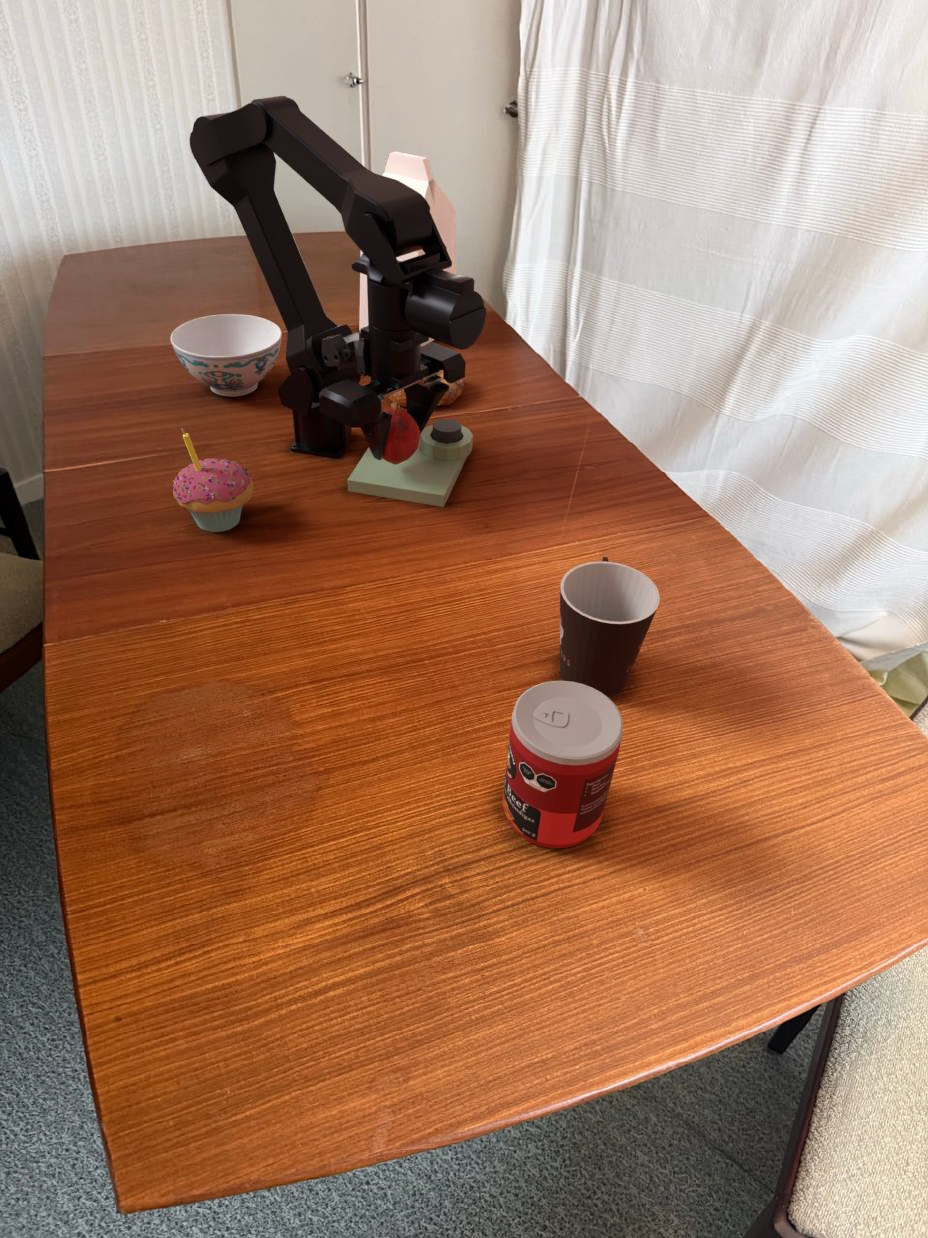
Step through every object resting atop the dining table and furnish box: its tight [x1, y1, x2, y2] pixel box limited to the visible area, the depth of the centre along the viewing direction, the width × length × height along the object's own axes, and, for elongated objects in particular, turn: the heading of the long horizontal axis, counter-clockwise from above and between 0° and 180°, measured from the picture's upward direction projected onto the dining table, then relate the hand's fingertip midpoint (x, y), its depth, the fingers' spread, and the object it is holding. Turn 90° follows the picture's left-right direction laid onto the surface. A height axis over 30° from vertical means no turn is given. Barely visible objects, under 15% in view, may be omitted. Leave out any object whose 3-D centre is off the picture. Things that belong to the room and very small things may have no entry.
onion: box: [383, 401, 420, 465], centre depth 99 cm, size 6×6×8 cm
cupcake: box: [171, 427, 255, 533], centre depth 91 cm, size 9×8×12 cm
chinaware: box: [170, 313, 283, 397], centre depth 118 cm, size 15×15×8 cm
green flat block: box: [347, 424, 474, 508], centre depth 104 cm, size 13×14×4 cm
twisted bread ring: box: [388, 370, 465, 408], centre depth 120 cm, size 12×11×4 cm
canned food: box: [501, 680, 624, 849], centre depth 63 cm, size 8×8×11 cm
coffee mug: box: [559, 556, 661, 698], centre depth 76 cm, size 12×9×10 cm
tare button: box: [432, 418, 462, 444], centre depth 105 cm, size 4×4×2 cm
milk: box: [358, 151, 458, 347], centre depth 131 cm, size 12×12×26 cm
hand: (395, 449), depth 100 cm, fingers closed on onion, 6 cm apart
